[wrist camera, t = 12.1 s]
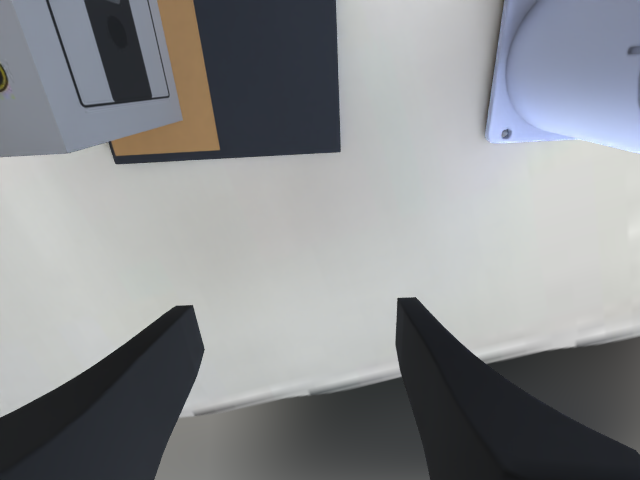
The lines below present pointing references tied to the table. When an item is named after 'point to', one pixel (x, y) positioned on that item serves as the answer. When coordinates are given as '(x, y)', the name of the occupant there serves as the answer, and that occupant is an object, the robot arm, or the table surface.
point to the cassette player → (81, 74)
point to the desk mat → (246, 81)
